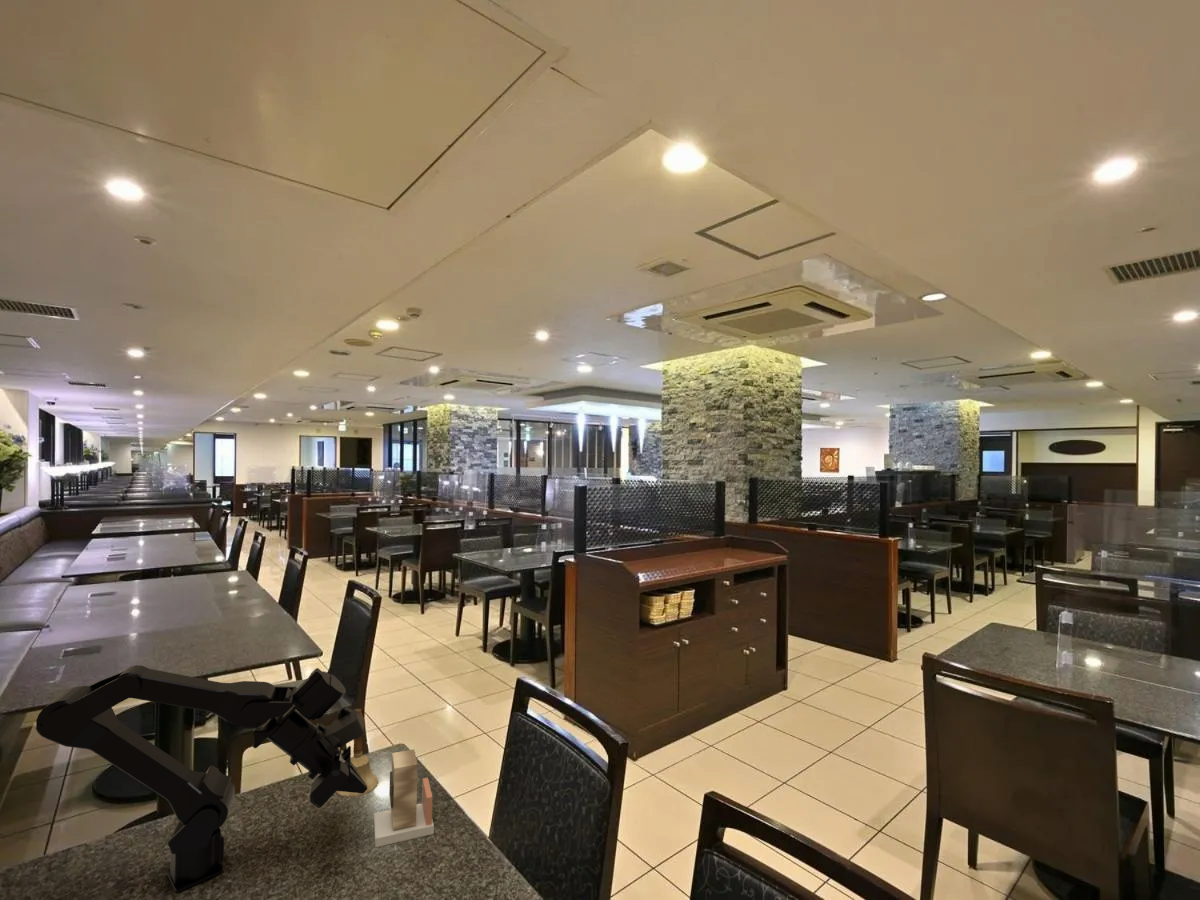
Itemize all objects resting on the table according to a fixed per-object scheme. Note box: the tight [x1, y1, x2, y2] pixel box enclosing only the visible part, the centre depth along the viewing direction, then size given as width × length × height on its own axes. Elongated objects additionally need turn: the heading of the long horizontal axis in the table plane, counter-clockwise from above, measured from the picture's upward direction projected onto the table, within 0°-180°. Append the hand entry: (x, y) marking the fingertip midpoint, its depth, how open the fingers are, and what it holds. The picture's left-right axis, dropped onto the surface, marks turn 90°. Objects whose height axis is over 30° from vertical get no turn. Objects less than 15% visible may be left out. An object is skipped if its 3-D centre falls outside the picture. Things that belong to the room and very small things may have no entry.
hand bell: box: [335, 708, 379, 798], centre depth 122 cm, size 8×8×16 cm
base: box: [373, 777, 435, 848], centre depth 108 cm, size 10×8×6 cm
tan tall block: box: [388, 748, 418, 830], centre depth 108 cm, size 4×6×11 cm
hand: (365, 790), depth 105 cm, fingers closed
